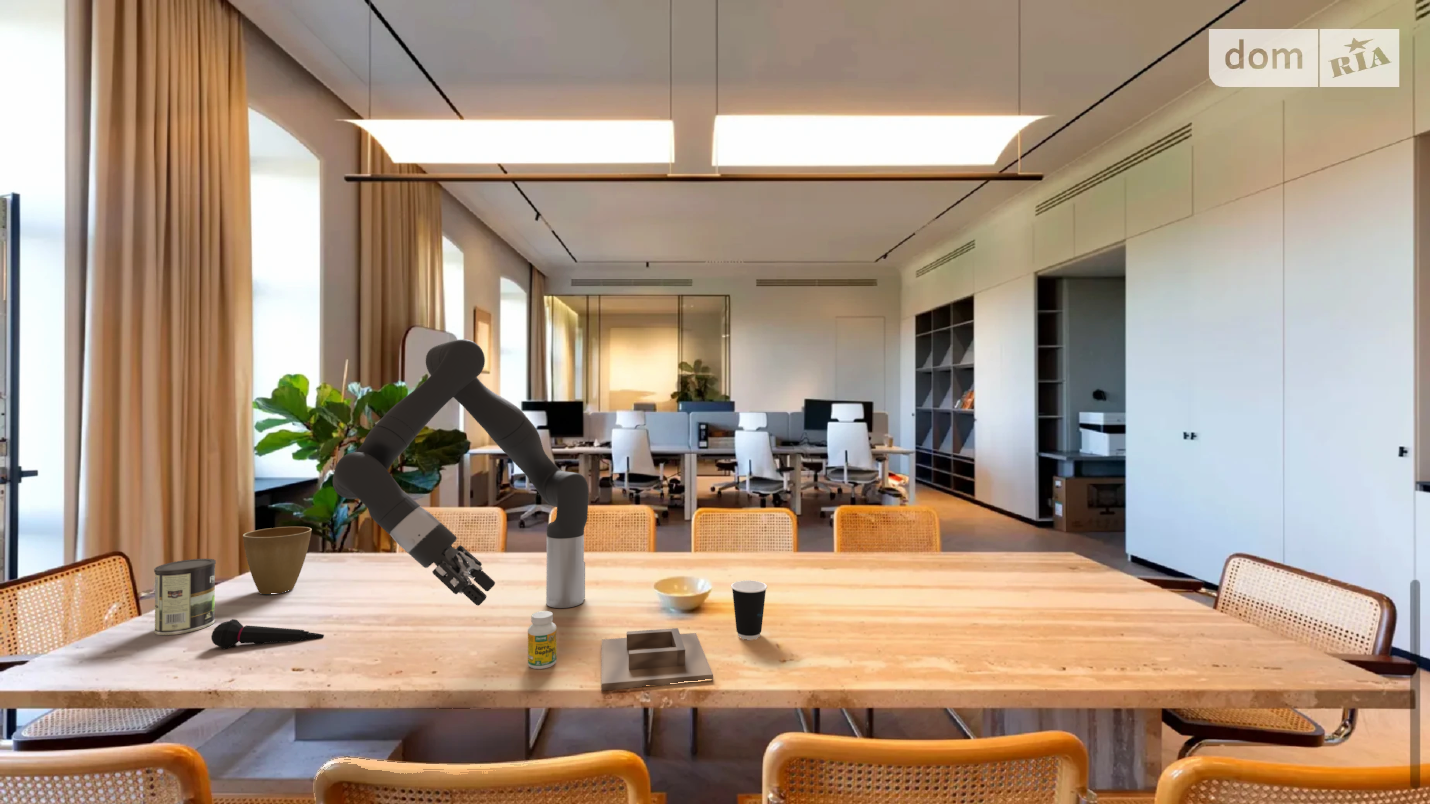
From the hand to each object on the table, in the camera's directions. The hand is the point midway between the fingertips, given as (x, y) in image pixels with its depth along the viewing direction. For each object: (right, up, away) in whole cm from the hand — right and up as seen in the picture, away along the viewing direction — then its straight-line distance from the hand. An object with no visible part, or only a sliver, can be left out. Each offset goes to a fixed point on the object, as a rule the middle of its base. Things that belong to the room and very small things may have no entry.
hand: (487, 594), depth 113 cm
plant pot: (-74, -14, +46) cm, 88 cm away
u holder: (+31, -14, +3) cm, 35 cm away
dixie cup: (+51, -15, +16) cm, 55 cm away
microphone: (-51, -14, +11) cm, 54 cm away
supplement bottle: (+10, -14, +2) cm, 17 cm away
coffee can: (-76, -14, +20) cm, 80 cm away
